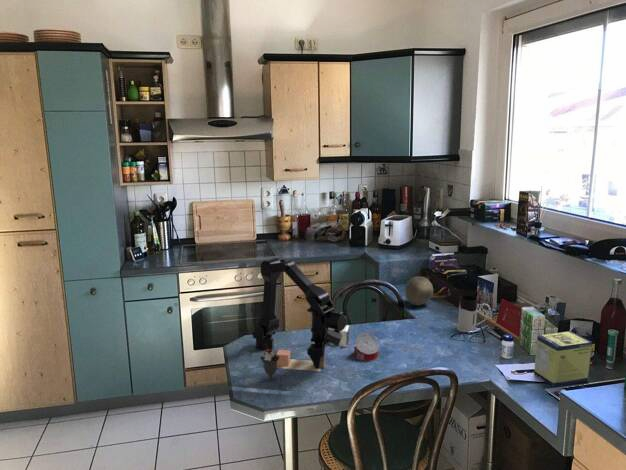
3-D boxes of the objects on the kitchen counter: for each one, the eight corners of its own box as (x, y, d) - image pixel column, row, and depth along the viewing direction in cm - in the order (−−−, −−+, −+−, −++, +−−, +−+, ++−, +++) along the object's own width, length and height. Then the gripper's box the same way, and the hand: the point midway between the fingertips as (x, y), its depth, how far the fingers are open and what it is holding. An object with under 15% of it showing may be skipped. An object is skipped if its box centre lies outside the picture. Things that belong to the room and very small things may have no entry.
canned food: (375, 363, 212) (387, 344, 209) (367, 370, 203) (380, 351, 200) (353, 346, 216) (365, 327, 213) (344, 353, 207) (357, 333, 204)
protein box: (588, 381, 187) (593, 341, 184) (553, 387, 183) (557, 346, 180) (566, 368, 197) (571, 330, 194) (532, 374, 193) (536, 335, 190)
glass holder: (460, 324, 241) (462, 293, 238) (491, 330, 233) (493, 299, 230) (453, 329, 234) (455, 298, 231) (485, 337, 226) (487, 304, 223)
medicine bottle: (346, 347, 216) (347, 320, 213) (330, 346, 217) (330, 319, 215) (349, 340, 223) (349, 314, 220) (332, 339, 224) (333, 313, 222)
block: (276, 365, 197) (276, 354, 196) (279, 360, 201) (278, 349, 200) (287, 366, 196) (287, 355, 195) (290, 361, 200) (290, 350, 200)
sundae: (261, 379, 189) (260, 341, 185) (279, 378, 189) (279, 340, 186) (261, 388, 182) (260, 348, 179) (279, 387, 183) (279, 348, 180)
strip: (268, 369, 196) (268, 354, 195) (273, 360, 204) (273, 346, 202) (322, 373, 192) (322, 358, 191) (325, 364, 200) (325, 349, 199)
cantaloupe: (404, 308, 261) (405, 280, 258) (404, 299, 275) (405, 272, 272) (433, 310, 259) (434, 281, 256) (431, 301, 273) (432, 274, 270)
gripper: (337, 335, 183) (337, 376, 186) (343, 316, 201) (342, 353, 204) (306, 333, 184) (306, 373, 188) (315, 315, 202) (315, 351, 206)
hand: (319, 362), depth 196 cm, fingers open, 9 cm apart
